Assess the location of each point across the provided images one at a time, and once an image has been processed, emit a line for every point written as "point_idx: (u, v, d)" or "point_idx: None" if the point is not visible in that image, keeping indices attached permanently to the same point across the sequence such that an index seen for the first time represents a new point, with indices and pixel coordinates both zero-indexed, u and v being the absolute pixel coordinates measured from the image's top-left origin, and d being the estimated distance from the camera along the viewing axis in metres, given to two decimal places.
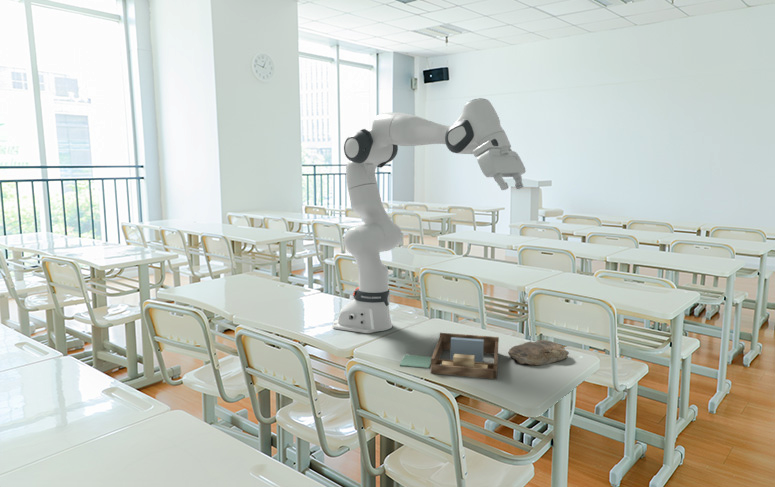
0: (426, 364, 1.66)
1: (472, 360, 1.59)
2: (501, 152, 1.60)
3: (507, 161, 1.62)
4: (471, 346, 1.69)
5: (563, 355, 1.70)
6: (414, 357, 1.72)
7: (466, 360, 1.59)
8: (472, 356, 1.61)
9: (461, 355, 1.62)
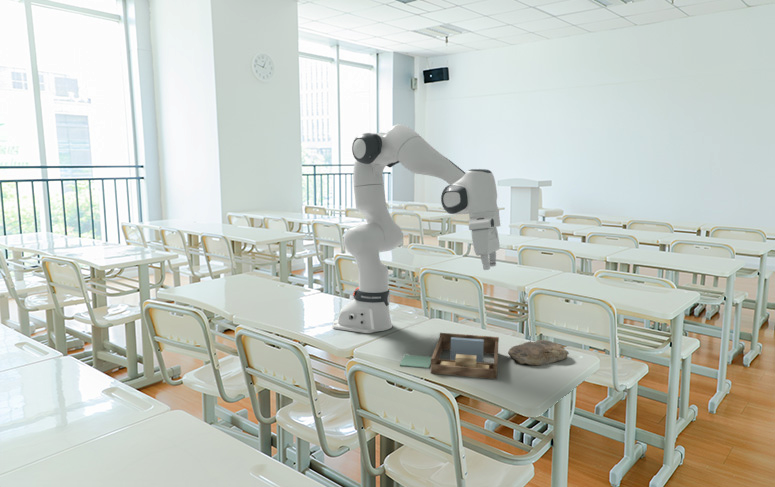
0: (426, 364, 1.66)
1: (474, 360, 1.59)
2: (492, 231, 1.61)
3: (492, 240, 1.63)
4: (471, 346, 1.69)
5: (563, 355, 1.70)
6: (414, 357, 1.72)
7: (469, 360, 1.59)
8: (474, 356, 1.61)
9: (463, 355, 1.61)
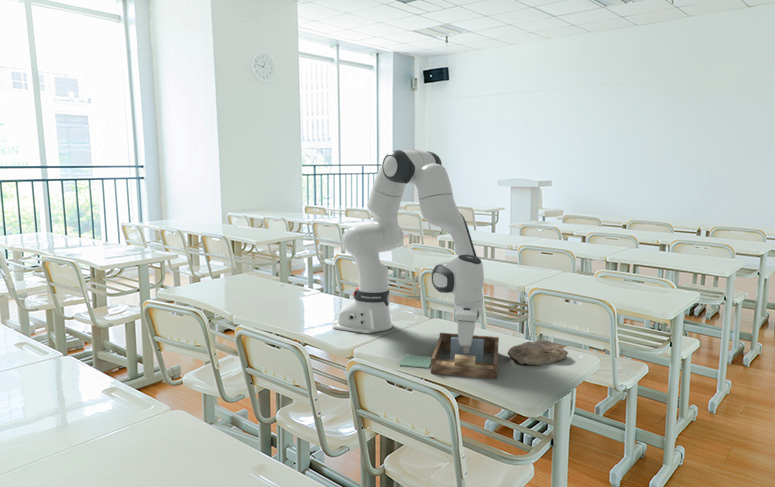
0: (426, 364, 1.66)
1: (473, 361, 1.59)
2: None
3: None
4: (471, 346, 1.69)
5: (562, 355, 1.70)
6: (414, 357, 1.72)
7: (468, 360, 1.59)
8: (473, 357, 1.60)
9: (462, 356, 1.61)
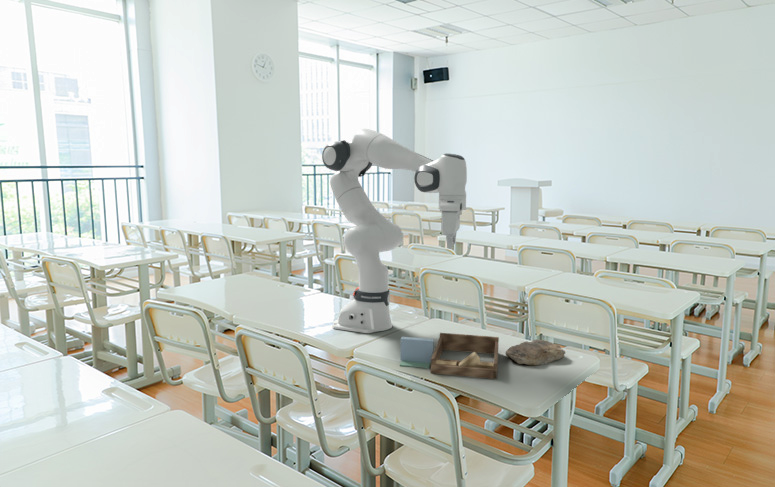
0: (426, 364, 1.66)
1: (474, 356, 1.59)
2: (458, 213, 1.76)
3: (457, 221, 1.78)
4: (420, 346, 1.67)
5: (560, 354, 1.70)
6: None
7: (470, 360, 1.59)
8: (473, 353, 1.61)
9: (464, 359, 1.62)
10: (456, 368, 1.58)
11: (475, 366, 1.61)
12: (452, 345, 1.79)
